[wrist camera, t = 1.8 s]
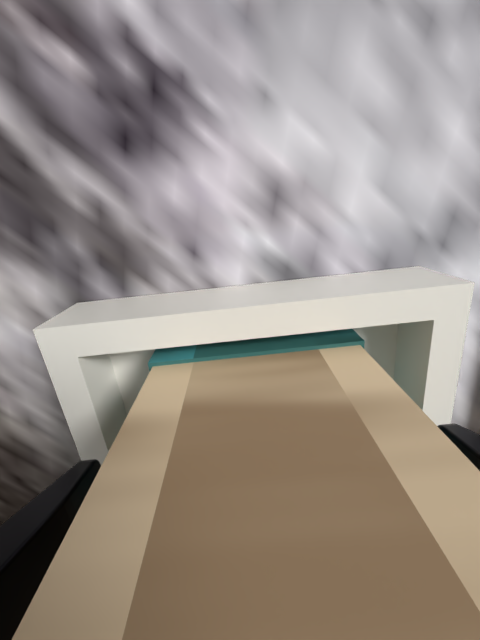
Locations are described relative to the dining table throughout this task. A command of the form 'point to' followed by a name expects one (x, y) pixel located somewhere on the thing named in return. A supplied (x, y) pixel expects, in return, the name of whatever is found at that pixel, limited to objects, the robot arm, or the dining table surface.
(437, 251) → the dining table surface
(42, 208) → the dining table surface
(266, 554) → the oak sleeve
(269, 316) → the feeder tray
